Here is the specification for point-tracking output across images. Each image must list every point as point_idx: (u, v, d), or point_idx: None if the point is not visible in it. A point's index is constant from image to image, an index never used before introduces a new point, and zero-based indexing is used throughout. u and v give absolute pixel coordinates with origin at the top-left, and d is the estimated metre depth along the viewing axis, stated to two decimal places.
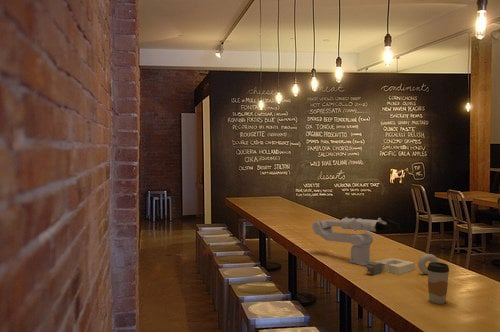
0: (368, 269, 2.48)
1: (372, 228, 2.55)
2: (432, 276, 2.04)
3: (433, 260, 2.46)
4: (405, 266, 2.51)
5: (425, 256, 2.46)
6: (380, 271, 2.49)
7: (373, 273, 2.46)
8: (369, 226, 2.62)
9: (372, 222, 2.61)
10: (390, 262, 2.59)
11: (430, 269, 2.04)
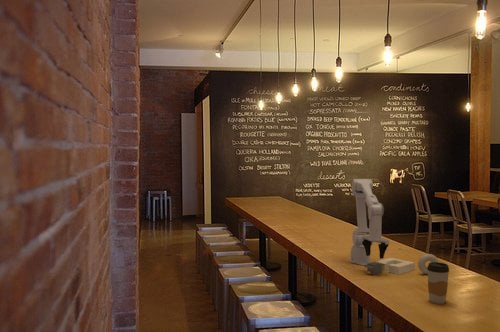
0: (368, 269, 2.48)
1: None
2: (432, 276, 2.04)
3: (433, 260, 2.46)
4: (405, 266, 2.51)
5: (425, 256, 2.46)
6: (380, 271, 2.49)
7: (373, 273, 2.46)
8: None
9: (369, 232, 2.49)
10: (390, 262, 2.59)
11: (430, 269, 2.04)
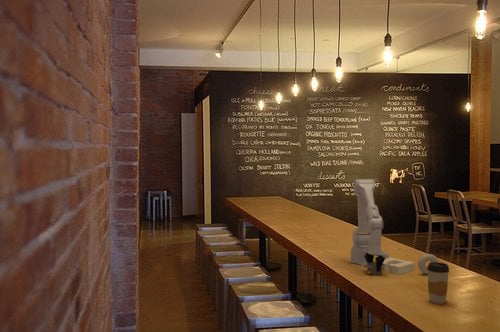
0: (368, 269, 2.48)
1: None
2: (432, 276, 2.04)
3: (433, 260, 2.46)
4: (405, 266, 2.51)
5: (425, 256, 2.46)
6: (380, 271, 2.49)
7: (373, 273, 2.46)
8: None
9: (369, 246, 2.49)
10: (390, 262, 2.59)
11: (430, 269, 2.04)
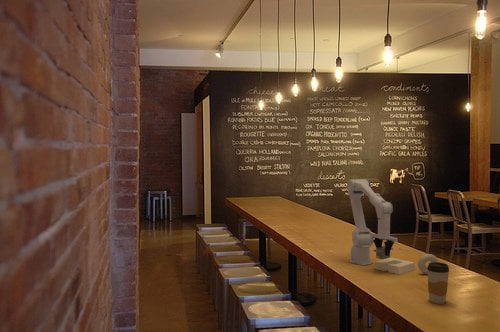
0: (377, 253, 2.51)
1: None
2: (432, 276, 2.04)
3: (433, 260, 2.46)
4: (405, 266, 2.51)
5: (425, 256, 2.46)
6: None
7: (382, 257, 2.49)
8: None
9: None
10: (390, 262, 2.59)
11: (430, 269, 2.04)
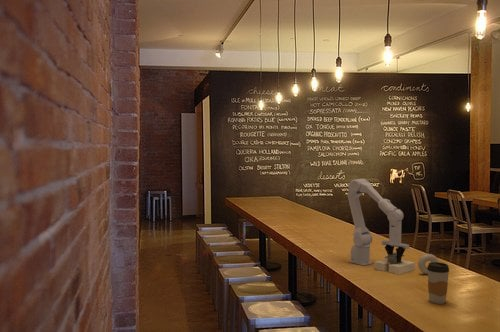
0: (388, 260, 2.56)
1: None
2: (432, 276, 2.04)
3: (433, 260, 2.46)
4: (405, 266, 2.51)
5: (425, 256, 2.46)
6: (400, 262, 2.56)
7: None
8: None
9: (389, 237, 2.57)
10: None
11: (430, 269, 2.04)
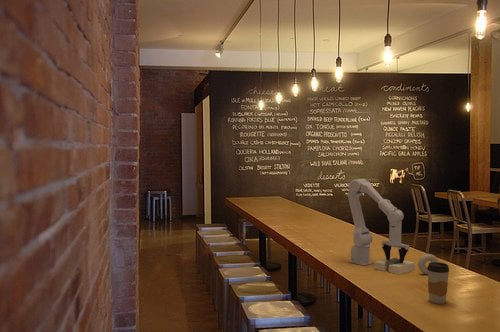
0: (388, 265, 2.56)
1: None
2: (432, 276, 2.04)
3: (433, 260, 2.46)
4: (405, 266, 2.51)
5: (425, 256, 2.46)
6: None
7: None
8: None
9: (389, 238, 2.57)
10: None
11: (430, 269, 2.04)
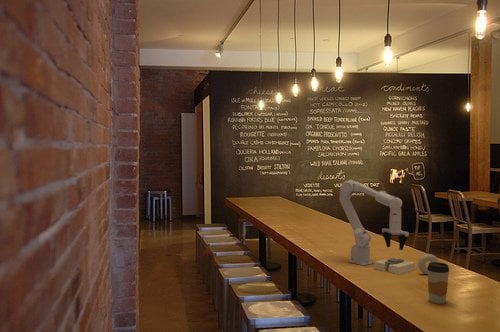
0: (388, 265, 2.56)
1: None
2: (432, 276, 2.04)
3: (433, 260, 2.46)
4: (405, 266, 2.51)
5: (425, 256, 2.46)
6: None
7: None
8: None
9: (389, 225, 2.62)
10: None
11: (430, 269, 2.04)
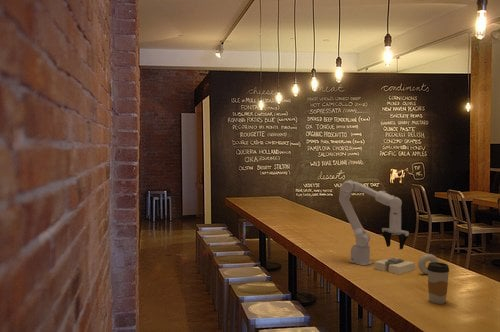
0: (388, 265, 2.56)
1: None
2: (432, 276, 2.04)
3: (433, 260, 2.46)
4: (405, 266, 2.51)
5: (425, 256, 2.46)
6: None
7: None
8: None
9: None
10: None
11: (430, 269, 2.04)
